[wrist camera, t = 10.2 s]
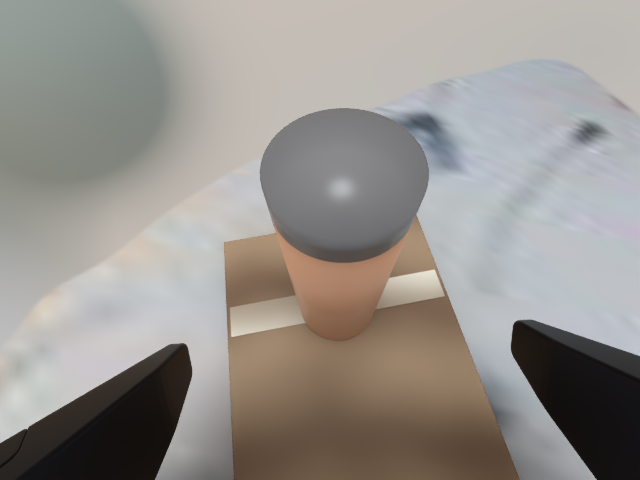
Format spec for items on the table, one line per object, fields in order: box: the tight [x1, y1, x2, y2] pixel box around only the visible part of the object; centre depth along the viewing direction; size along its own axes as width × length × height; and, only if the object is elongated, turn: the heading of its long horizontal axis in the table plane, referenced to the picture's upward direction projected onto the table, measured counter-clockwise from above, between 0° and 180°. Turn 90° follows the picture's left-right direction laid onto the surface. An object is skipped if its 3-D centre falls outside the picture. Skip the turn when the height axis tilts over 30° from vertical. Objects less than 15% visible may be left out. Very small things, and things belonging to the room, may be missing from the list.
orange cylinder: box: [260, 108, 429, 341], centre depth 12 cm, size 4×4×11 cm
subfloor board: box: [224, 215, 520, 480], centre depth 15 cm, size 24×12×1 cm, turn 10°
